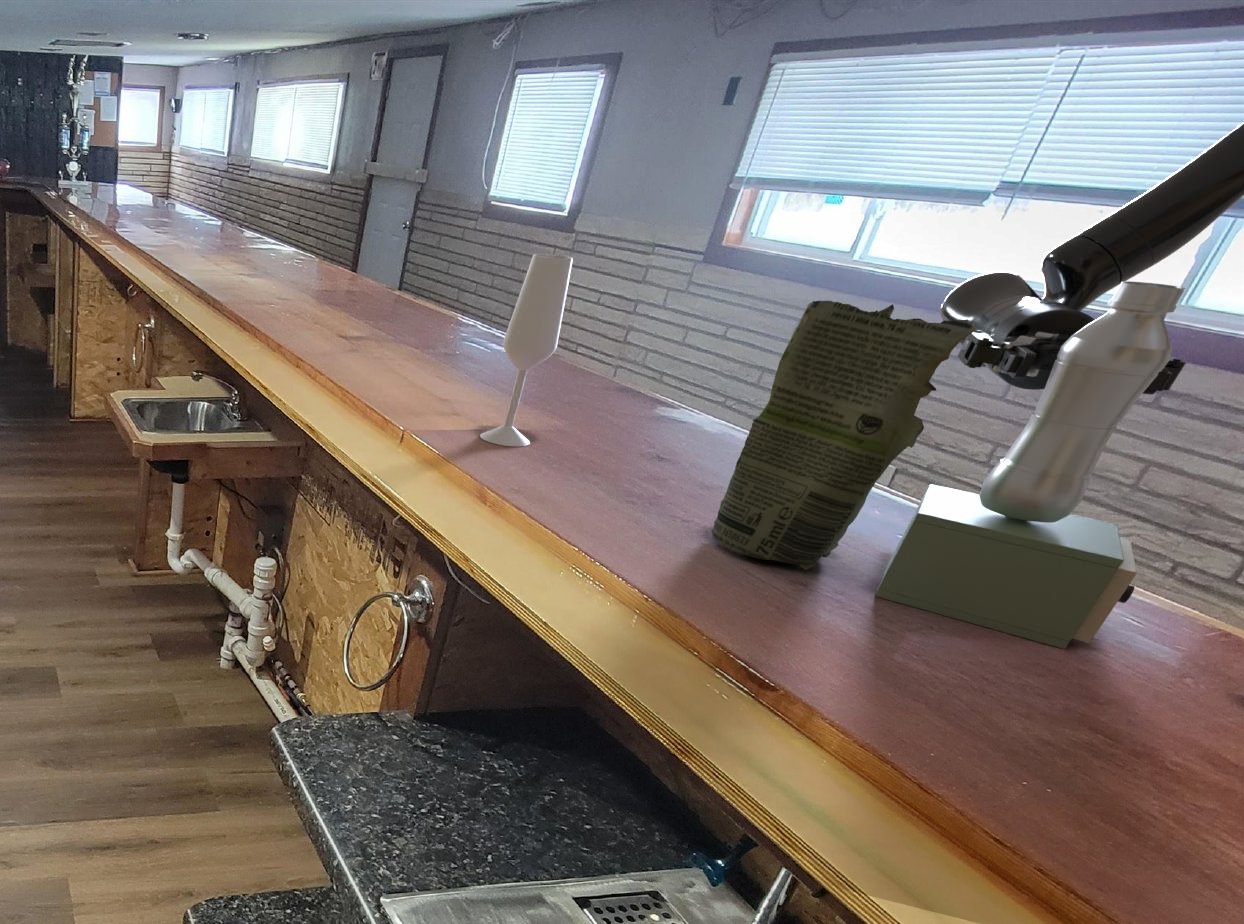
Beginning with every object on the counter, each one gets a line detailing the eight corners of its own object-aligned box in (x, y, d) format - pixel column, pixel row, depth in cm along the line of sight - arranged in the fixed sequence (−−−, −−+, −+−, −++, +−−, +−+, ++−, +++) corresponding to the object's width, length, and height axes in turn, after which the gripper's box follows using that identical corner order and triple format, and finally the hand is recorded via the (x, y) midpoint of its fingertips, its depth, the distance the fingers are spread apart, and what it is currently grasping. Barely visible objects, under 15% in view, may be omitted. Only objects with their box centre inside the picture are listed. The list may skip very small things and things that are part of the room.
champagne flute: (492, 429, 130) (537, 251, 118) (537, 440, 126) (589, 257, 114) (471, 437, 125) (516, 254, 113) (518, 449, 121) (569, 261, 109)
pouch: (701, 524, 100) (794, 289, 88) (824, 543, 96) (939, 301, 84) (720, 562, 91) (826, 306, 78) (857, 584, 87) (991, 320, 75)
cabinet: (1063, 607, 85) (1118, 523, 81) (1064, 649, 77) (1124, 560, 73) (889, 561, 93) (929, 483, 88) (874, 596, 85) (918, 512, 81)
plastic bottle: (952, 501, 84) (1074, 276, 74) (1030, 507, 83) (1164, 281, 73) (1000, 527, 79) (1139, 288, 69) (1084, 534, 78) (1238, 294, 68)
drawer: (1104, 609, 83) (1149, 542, 79) (1108, 648, 76) (1157, 577, 73) (920, 562, 91) (954, 500, 87) (909, 594, 84) (945, 527, 80)
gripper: (1107, 392, 88) (1173, 431, 75) (928, 370, 94) (962, 403, 81) (1154, 313, 84) (1232, 341, 72) (964, 295, 90) (1006, 318, 78)
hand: (1088, 374), depth 77 cm, fingers open, 8 cm apart
